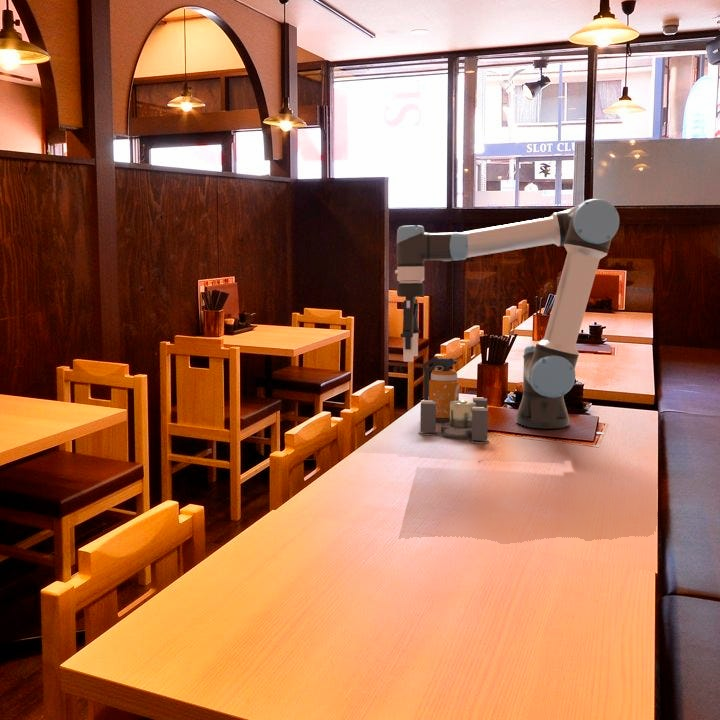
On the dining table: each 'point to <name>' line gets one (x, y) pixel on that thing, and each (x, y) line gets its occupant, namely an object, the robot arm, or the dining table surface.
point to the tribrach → (458, 422)
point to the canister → (441, 386)
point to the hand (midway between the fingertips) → (410, 358)
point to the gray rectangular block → (479, 423)
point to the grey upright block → (428, 416)
